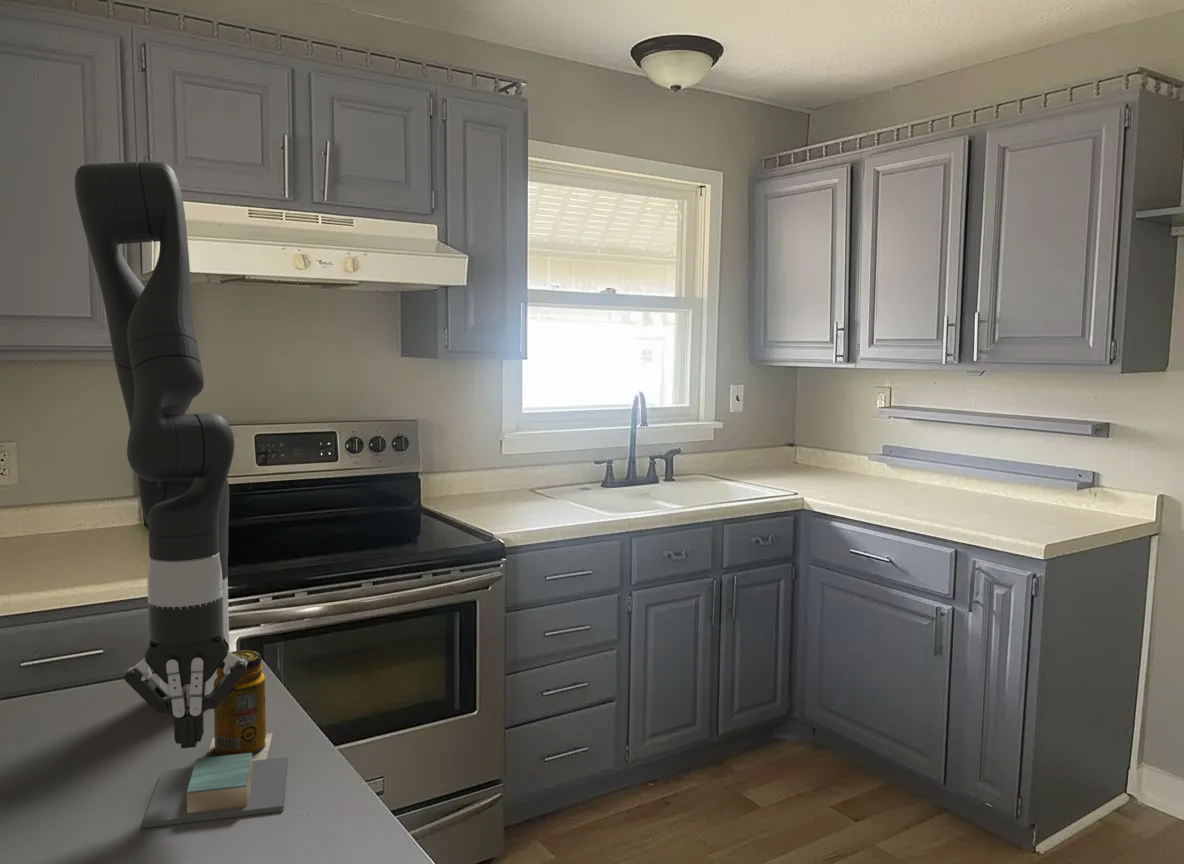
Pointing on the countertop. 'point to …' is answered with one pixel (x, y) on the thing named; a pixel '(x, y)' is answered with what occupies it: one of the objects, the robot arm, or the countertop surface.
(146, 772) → the countertop surface
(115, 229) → the robot arm
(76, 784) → the countertop surface
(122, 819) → the countertop surface
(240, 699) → the condiment
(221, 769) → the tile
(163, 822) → the mat
